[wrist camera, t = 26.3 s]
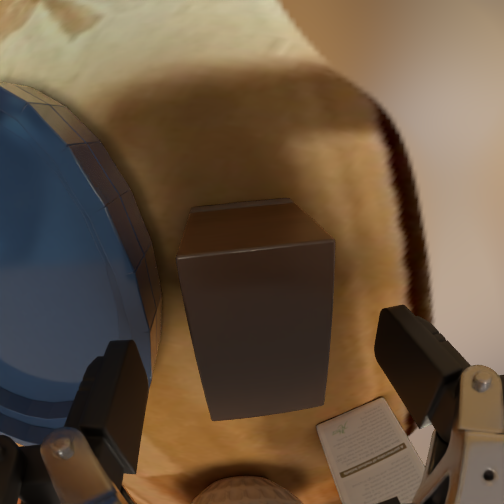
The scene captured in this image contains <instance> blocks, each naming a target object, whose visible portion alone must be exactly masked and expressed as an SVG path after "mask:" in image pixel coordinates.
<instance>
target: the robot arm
mask: <svg viewBox="0 0 504 504" xmlns="http://www.w3.org/2000/svg"><path fill="white" fill-rule="evenodd" d="M374 351H375V357H376V360H377V362H378V364H379V365H380V367H381V368H382V370H383V371H384V373H385V374H386V376H387V378H388V379H389V381H390V382H391V384H392V385H393V387H394V389H395V390H396V392H397V393H398V395H399V396H400V398H401V400H402V401H403V403H404V404H405V406H406V408H407V409H408V411H409V413H410V414H411V416H412V417H413V419H414V421H415V422H416V424H417V426H418V427H419V429H421V428H424V427H426V426H429V425H431V424H432V425H433V426H434V428H435V430H434V431H433V434H432V438H431V443H430V448H429V453H428V457H427V462H426V466H425V470H424V474H423V478H422V481H421V484H420V486H419V488H418V490H417V492H416V494H415V496H414V498H413V500H412V503H407V504H504V375H498V374H497V373H496V372H495V371H494V370H492V369H491V368H489V367H486V366H482V365H473V366H471V365H470V364H469V363H468V362H467V361H466V360H465V359H464V358H463V357H462V356H461V355H460V353H459V352H458V351H457V350H456V349H455V348H454V347H453V346H452V345H451V344H450V343H449V342H448V341H446V340H445V337H443V335H442V334H440V333H439V332H438V330H437V329H436V328H435V327H434V326H433V325H432V324H431V323H430V322H428V321H426V320H424V319H423V318H421V317H419V316H415V315H414V314H413V313H412V312H411V311H410V310H409V309H408V308H407V307H406V306H405V305H398V306H393V307H389V308H384V309H382V310H381V312H380V316H379V322H378V328H377V334H376V339H375V345H374ZM82 379H83V381H81V383H80V386H79V391H77V393H76V396H75V398H74V401H73V403H72V406H71V409H70V411H69V414H68V416H67V419H66V422H65V425H64V427H60V428H57V429H55V430H53V431H51V432H50V433H49V434H47V435H46V437H45V438H44V439H43V441H42V444H39V445H31V446H23V447H18V445H17V444H16V443H15V442H14V441H13V440H12V439H11V438H10V437H8V436H6V435H0V504H17V502H18V498H19V499H20V500H21V503H20V504H136V502H135V501H134V499H133V498H132V497H131V495H130V494H129V492H128V491H127V490H126V488H125V487H124V485H123V484H122V480H123V473H126V474H136V470H137V462H138V455H139V448H140V441H141V435H142V428H143V422H144V416H145V410H146V404H147V399H148V393H149V384H148V378H147V374H146V371H145V369H144V366H143V363H142V360H141V357H140V355H139V352H138V349H137V346H136V343H135V342H134V340H113V341H110V342H109V344H108V346H107V349H106V351H105V353H104V356H97V357H96V358H95V359H94V360H93V361H92V363H91V364H90V365H89V366H88V367H87V369H86V371H85V374H84V376H83V378H82ZM377 504H400V502H399V499H398V497H397V496H396V497H393V498H391V499H388V500H385V501H383V502H380V503H377Z"/></svg>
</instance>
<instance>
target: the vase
mask: <svg viewBox="0 0 504 504" xmlns="http://www.w3.org/2000/svg"><path fill="white" fill-rule="evenodd" d="M190 504H303V503H302V502H301V501H300V500H299V499H298V498H297V497H296V496H295V495H293V494H292V493H291V492H290V491H288V490H286V489H285V488H283V487H281V486H280V485H278V484H276V483H274V482H272V481H271V480H269V479H266V478H263V477H257V476H235V477H229V478H224V479H221V480H218V481H216V482H214V483H212V484H211V485H210V486H208V487H207V488H206V489H205V490H203V491H202V492H201V493H200V494H199V495H198V496H196V497H195V498H194V500H193V501H192V502H191V503H190Z"/></svg>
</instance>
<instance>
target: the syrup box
mask: <svg viewBox="0 0 504 504" xmlns="http://www.w3.org/2000/svg"><path fill="white" fill-rule="evenodd" d="M316 427H317V432H318V435H319V438H320V441H321V444H322V447H323V450H324V453H325V456H326V459H327V462H328V465H329V467H330V470H331V473H332V476H333V479H334V482H335V485H336V487H337V490H338V493H339V496H340V499H341V502H342V504H377V503H380V502H383V501H385V500H388V499H391V498H393V497H396V496H397V497H398V499H399V502H400V504H407V503H412V500H413V498H414V496H415V494H416V492H417V490H418V488H419V486H420V484H421V481H422V478H423V474H424V470H425V466H424V464H423V462H422V461H421V459H420V457H419V456H418V454H417V452H416V451H415V449H414V447H413V445H412V444H411V442H410V440H409V439H408V437H407V435H406V433H405V432H404V430H403V428H402V427H401V425H400V423H399V422H398V420H397V418H396V417H395V415H394V413H393V412H392V410H391V408H390V407H389V405H388V403H387V402H386V400H385V399H384V398H379V399H377V400H374V401H372V402H370V403H367V404H365V405H363V406H360V407H358V408H356V409H354V410H351V411H349V412H347V413H344V414H342V415H340V416H338V417H335V418H333V419H331V420H328V421H326V422H323V423H321V424H318V425H317V426H316Z"/></svg>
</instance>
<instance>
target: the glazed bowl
mask: <svg viewBox="0 0 504 504" xmlns="http://www.w3.org/2000/svg"><path fill="white" fill-rule="evenodd" d="M161 292H162V290H161V285H160V280H159V275H158V271H157V266H156V260H155V255H154V250H153V245H152V242H151V238H150V236H149V234H148V231H147V229H146V226H145V224H144V221H143V219H142V216H141V214H140V211H139V209H138V206H137V204H136V201H135V199H134V196H133V193H132V191H131V189H130V187H129V186H128V184H127V182H126V181H125V179H124V178H123V176H122V175H121V173H120V172H119V170H118V168H117V167H116V165H115V164H114V162H113V160H112V159H111V157H110V156H109V154H108V152H107V151H106V149H105V148H104V146H103V144H102V143H101V142H100V140H99V139H98V138H97V137H96V136H95V135H94V134H93V133H92V132H91V131H90V130H89V129H88V128H87V127H86V126H85V125H84V124H83V123H82V122H81V121H80V120H79V119H78V118H77V117H76V116H75V115H74V114H73V113H72V112H71V111H70V110H69V109H68V108H67V107H66V106H65V105H63V104H61V103H59V102H57V101H56V100H54V99H52V98H50V97H49V96H47V95H45V94H43V93H41V92H40V91H38V90H36V89H34V88H32V87H29V86H24V85H18V84H11V83H5V82H0V435H6V436H8V437H10V438H11V439H12V440H13V441H14V442H16V443H18V444H21V445H24V446H31V445H39V444H42V441H43V439H44V438H45V437H46V435H47V434H49V433H50V432H51V431H53V430H55V429H57V428H60V427H64V425H65V422H66V419H67V416H68V414H69V411H70V409H71V406H72V403H73V401H74V398H75V396H76V393H77V391H79V386H80V383H81V381H83V379H82V378H83V376H84V374H85V371H86V369H87V367H88V366H89V365H90V364H91V363H92V361H93V360H94V359H95V358H96V357H97V356H104V353H105V351H106V349H107V346H108V344H109V342H110V341H113V340H134V342H135V343H136V346H137V349H138V352H139V355H140V357H141V360H142V363H143V366H144V369H145V371H146V374H147V378H148V384H149V388H150V384H151V380H152V376H153V371H154V366H155V361H156V357H157V352H158V347H159V343H160V338H161V308H162V293H161Z"/></svg>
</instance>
